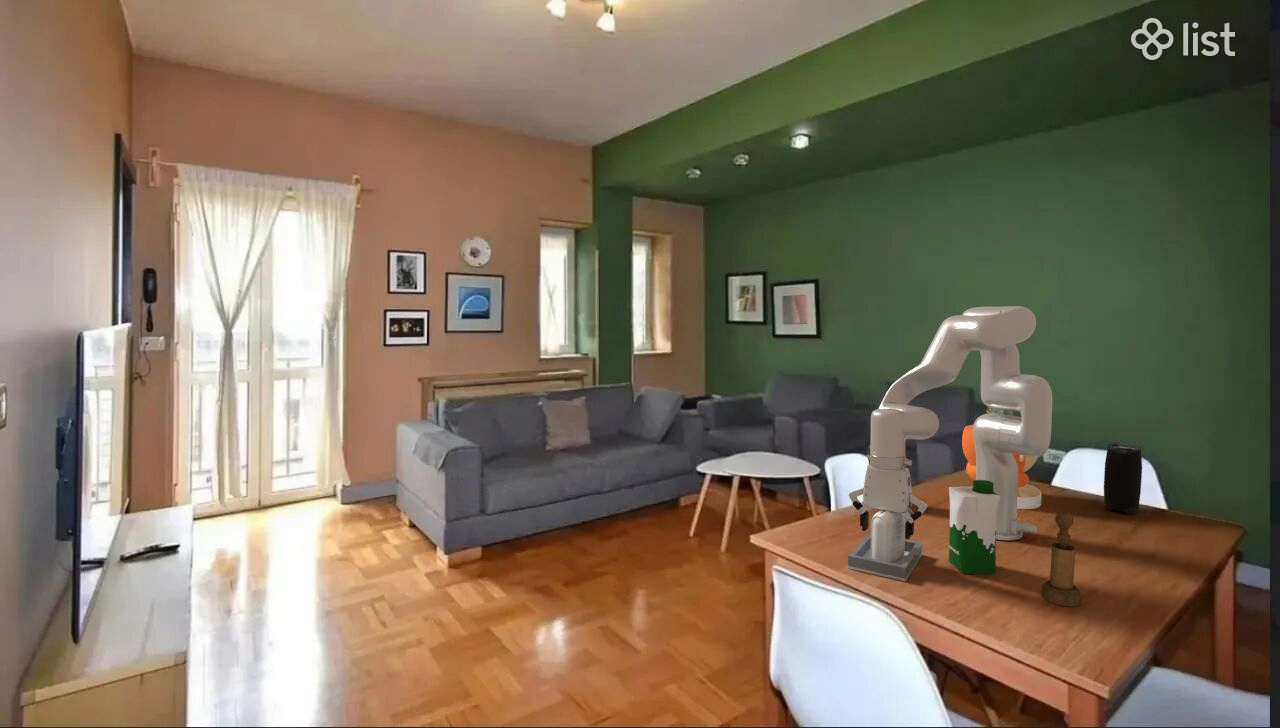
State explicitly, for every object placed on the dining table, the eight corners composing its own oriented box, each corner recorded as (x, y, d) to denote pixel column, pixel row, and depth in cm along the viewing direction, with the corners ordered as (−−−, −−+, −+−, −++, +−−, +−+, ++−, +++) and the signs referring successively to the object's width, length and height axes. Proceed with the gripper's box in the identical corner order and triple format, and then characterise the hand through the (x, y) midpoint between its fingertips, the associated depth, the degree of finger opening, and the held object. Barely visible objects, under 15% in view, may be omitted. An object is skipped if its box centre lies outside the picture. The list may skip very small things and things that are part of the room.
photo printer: (890, 550, 147) (890, 501, 146) (907, 556, 144) (908, 505, 143) (867, 562, 141) (868, 510, 140) (884, 568, 138) (885, 515, 137)
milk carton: (1002, 575, 134) (1005, 487, 132) (960, 576, 134) (963, 488, 133) (981, 559, 143) (983, 476, 141) (942, 560, 143) (944, 477, 141)
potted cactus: (1024, 489, 197) (1027, 382, 194) (1054, 511, 175) (1058, 391, 172) (952, 486, 202) (954, 382, 199) (972, 507, 180) (975, 391, 177)
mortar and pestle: (1082, 610, 118) (1086, 520, 117) (1042, 602, 122) (1045, 515, 120) (1079, 596, 124) (1082, 510, 122) (1041, 589, 127) (1044, 505, 126)
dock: (921, 554, 146) (922, 542, 146) (905, 581, 132) (905, 568, 132) (868, 544, 153) (869, 532, 153) (847, 568, 139) (848, 555, 139)
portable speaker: (1139, 509, 176) (1143, 444, 174) (1139, 517, 169) (1143, 450, 167) (1103, 503, 181) (1106, 441, 180) (1101, 511, 174) (1105, 446, 173)
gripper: (931, 463, 139) (929, 535, 140) (854, 454, 149) (853, 522, 150) (924, 470, 133) (922, 546, 134) (845, 460, 143) (844, 531, 144)
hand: (886, 533), depth 142 cm, fingers open, 9 cm apart
